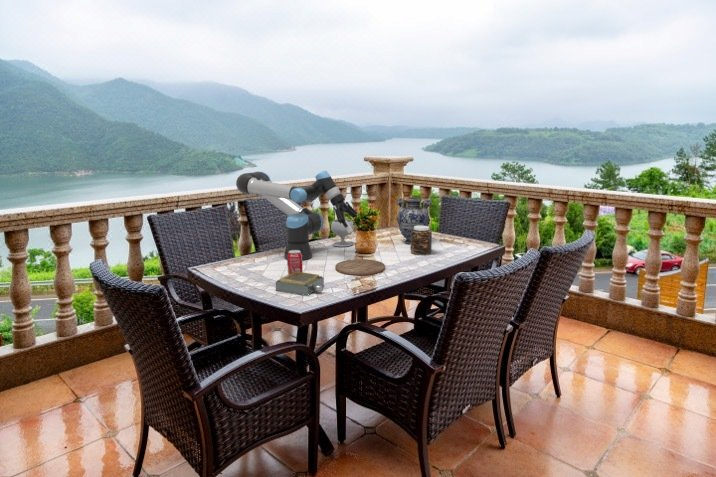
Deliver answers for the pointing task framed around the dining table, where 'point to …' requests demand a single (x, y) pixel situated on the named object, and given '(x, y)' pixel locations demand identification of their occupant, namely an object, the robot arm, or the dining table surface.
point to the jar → (421, 240)
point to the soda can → (294, 261)
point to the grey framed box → (300, 283)
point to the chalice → (341, 232)
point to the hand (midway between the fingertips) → (356, 229)
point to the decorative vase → (412, 215)
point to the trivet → (360, 267)
